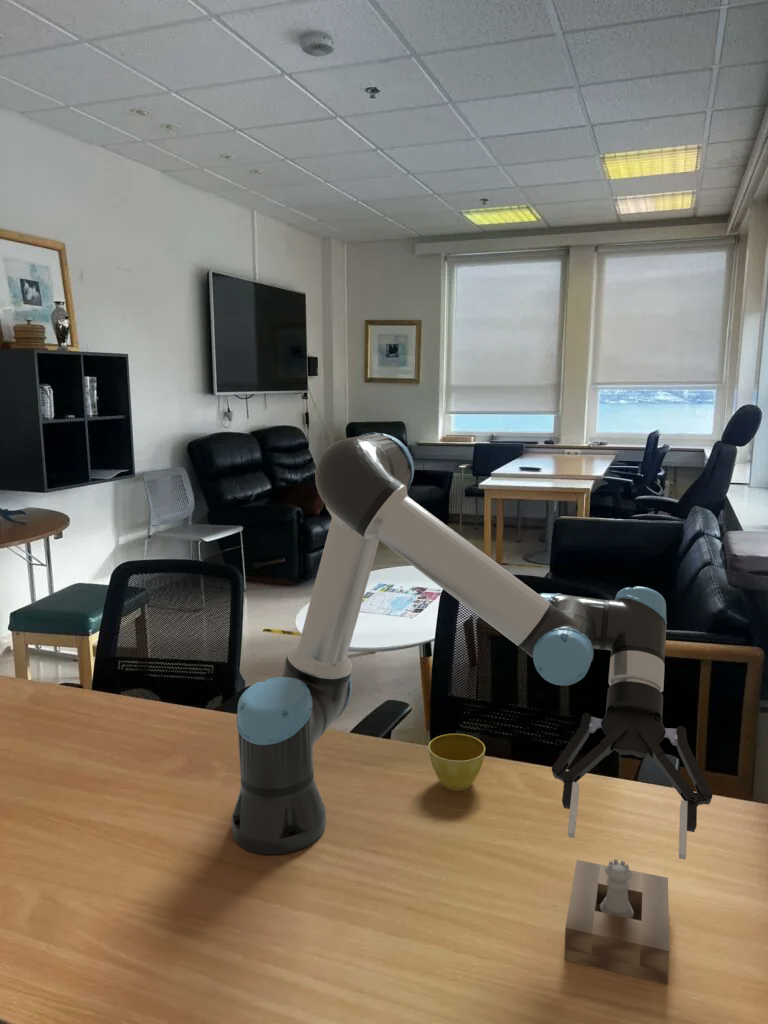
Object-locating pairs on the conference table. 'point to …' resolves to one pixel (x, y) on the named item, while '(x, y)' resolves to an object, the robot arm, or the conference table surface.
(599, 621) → the robot arm
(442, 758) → the flower pot
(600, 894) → the socket block
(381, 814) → the conference table surface
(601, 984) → the conference table surface
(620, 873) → the rook chess piece
